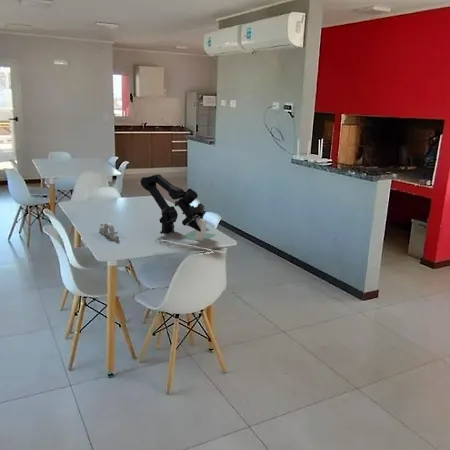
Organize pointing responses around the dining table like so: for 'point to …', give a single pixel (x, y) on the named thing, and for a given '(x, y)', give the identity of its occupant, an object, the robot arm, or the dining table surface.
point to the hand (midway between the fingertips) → (202, 229)
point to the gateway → (105, 230)
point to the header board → (192, 236)
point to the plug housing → (202, 226)
